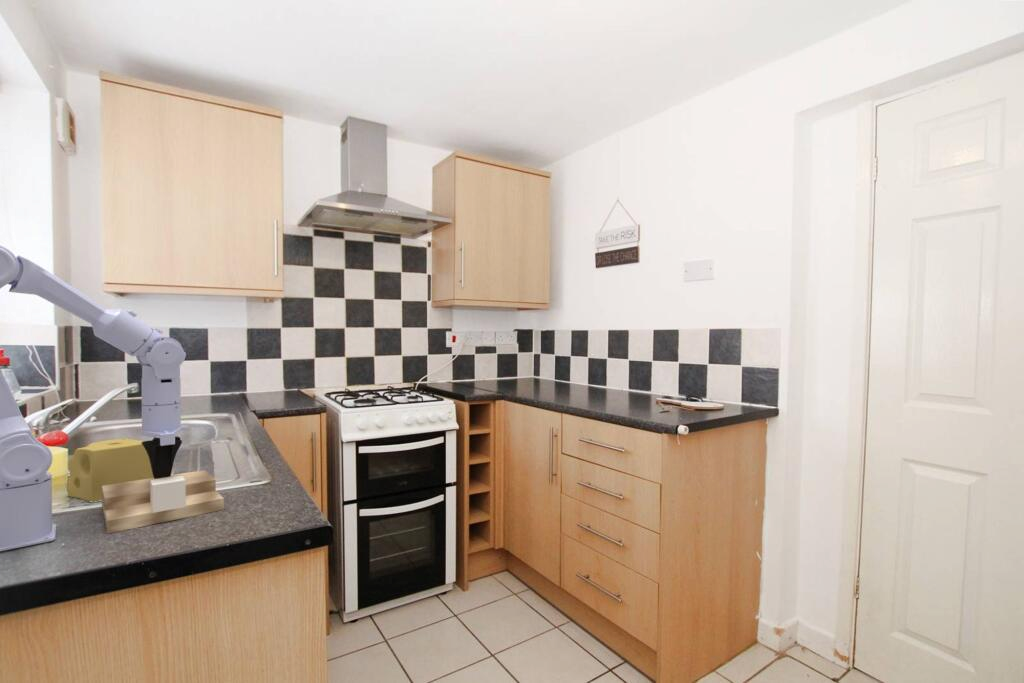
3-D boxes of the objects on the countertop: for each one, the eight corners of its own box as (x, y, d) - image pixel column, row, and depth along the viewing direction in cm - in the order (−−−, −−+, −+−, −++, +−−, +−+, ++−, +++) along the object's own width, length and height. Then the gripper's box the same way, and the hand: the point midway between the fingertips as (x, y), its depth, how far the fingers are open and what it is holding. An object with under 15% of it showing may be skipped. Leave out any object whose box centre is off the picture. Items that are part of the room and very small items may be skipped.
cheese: (66, 497, 96) (65, 445, 96) (129, 482, 106) (129, 436, 106) (91, 504, 91) (91, 450, 91) (156, 489, 101) (155, 440, 101)
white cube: (150, 506, 84) (152, 512, 80) (150, 479, 84) (152, 485, 80) (182, 500, 87) (185, 506, 83) (181, 474, 87) (185, 480, 83)
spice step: (107, 533, 77) (107, 508, 77) (102, 508, 89) (101, 485, 89) (223, 509, 87) (223, 487, 87) (204, 489, 100) (204, 469, 100)
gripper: (195, 405, 86) (196, 483, 86) (181, 398, 96) (181, 468, 96) (145, 409, 81) (145, 492, 81) (135, 402, 92) (136, 475, 92)
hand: (162, 479), depth 88 cm, fingers closed
